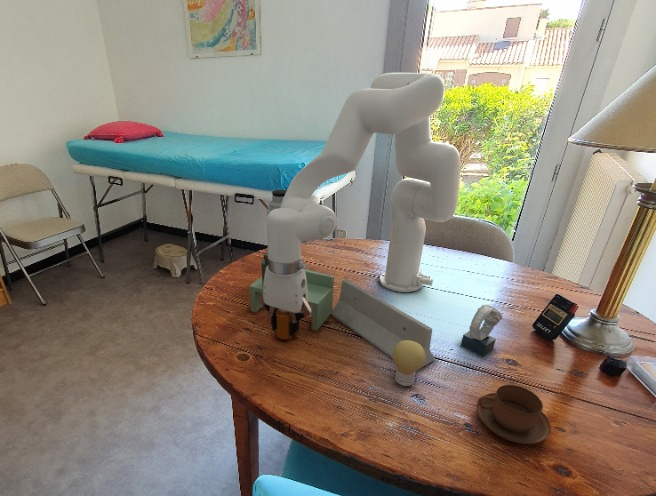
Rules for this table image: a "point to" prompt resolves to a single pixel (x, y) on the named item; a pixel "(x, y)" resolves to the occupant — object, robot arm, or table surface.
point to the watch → (482, 331)
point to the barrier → (379, 320)
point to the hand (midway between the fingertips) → (284, 329)
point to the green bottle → (264, 266)
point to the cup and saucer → (514, 415)
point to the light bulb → (407, 361)
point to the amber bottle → (283, 324)
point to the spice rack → (317, 296)
